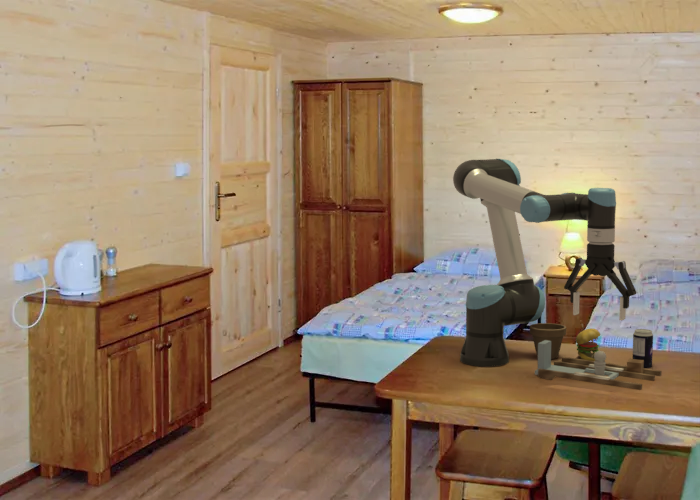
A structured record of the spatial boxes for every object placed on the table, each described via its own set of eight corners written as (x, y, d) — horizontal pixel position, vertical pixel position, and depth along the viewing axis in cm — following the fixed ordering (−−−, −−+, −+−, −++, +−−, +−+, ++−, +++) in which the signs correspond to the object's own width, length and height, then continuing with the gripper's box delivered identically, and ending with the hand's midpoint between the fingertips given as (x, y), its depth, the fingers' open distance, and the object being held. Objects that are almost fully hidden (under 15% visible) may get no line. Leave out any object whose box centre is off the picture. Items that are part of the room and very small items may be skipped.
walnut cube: (626, 375, 262) (626, 361, 261) (629, 372, 265) (629, 358, 265) (640, 376, 260) (641, 363, 259) (643, 373, 263) (643, 360, 263)
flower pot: (535, 351, 297) (536, 320, 295) (570, 355, 291) (570, 324, 290) (524, 358, 287) (524, 327, 286) (559, 363, 281) (559, 331, 280)
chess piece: (612, 381, 259) (613, 351, 258) (600, 385, 256) (601, 354, 255) (597, 378, 264) (598, 347, 262) (585, 381, 260) (586, 350, 259)
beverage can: (653, 372, 269) (654, 333, 267) (633, 371, 270) (634, 332, 268) (650, 367, 274) (652, 328, 273) (631, 367, 275) (632, 328, 274)
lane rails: (538, 377, 264) (538, 367, 264) (562, 364, 279) (563, 354, 279) (640, 394, 247) (640, 382, 247) (661, 379, 262) (661, 368, 261)
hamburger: (598, 365, 277) (599, 327, 276) (574, 363, 280) (574, 325, 278) (601, 360, 284) (602, 322, 283) (577, 358, 287) (578, 320, 285)
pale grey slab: (534, 374, 267) (535, 344, 266) (547, 368, 274) (547, 338, 273) (607, 386, 254) (608, 354, 253) (618, 378, 261) (619, 348, 260)
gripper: (553, 241, 260) (552, 314, 262) (640, 247, 245) (638, 324, 248) (564, 239, 266) (562, 310, 268) (649, 244, 251) (646, 319, 254)
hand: (598, 317), depth 258 cm, fingers open, 13 cm apart
